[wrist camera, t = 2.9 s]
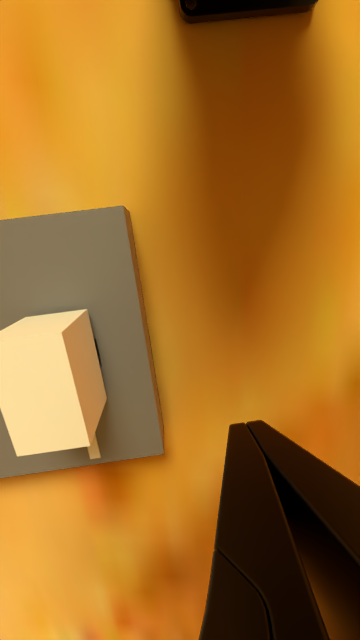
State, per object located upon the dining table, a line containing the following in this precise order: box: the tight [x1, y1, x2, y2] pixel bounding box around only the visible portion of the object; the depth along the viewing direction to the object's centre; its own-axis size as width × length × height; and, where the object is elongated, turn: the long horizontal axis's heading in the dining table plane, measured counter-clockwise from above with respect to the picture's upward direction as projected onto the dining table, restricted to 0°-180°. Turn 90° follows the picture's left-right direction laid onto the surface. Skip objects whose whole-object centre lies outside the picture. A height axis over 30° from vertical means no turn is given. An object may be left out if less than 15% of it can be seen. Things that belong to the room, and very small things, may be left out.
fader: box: [0, 309, 107, 457], centre depth 13 cm, size 3×5×5 cm, turn 7°
